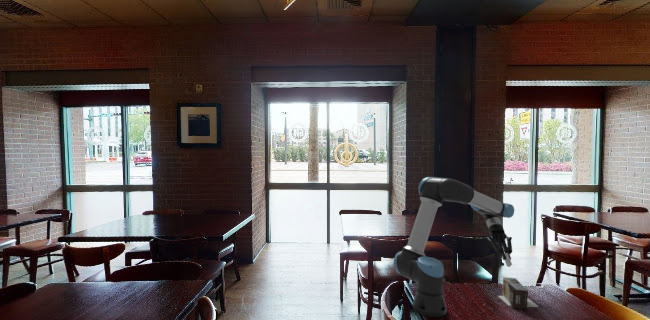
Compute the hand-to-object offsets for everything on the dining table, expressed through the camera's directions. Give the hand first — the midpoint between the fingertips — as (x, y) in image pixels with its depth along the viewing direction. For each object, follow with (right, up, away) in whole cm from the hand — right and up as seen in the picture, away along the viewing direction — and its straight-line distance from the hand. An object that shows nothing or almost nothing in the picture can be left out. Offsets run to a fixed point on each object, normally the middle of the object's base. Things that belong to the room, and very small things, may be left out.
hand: (509, 265), depth 172 cm
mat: (-1, -15, -8) cm, 18 cm away
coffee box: (-1, -10, -1) cm, 11 cm away
